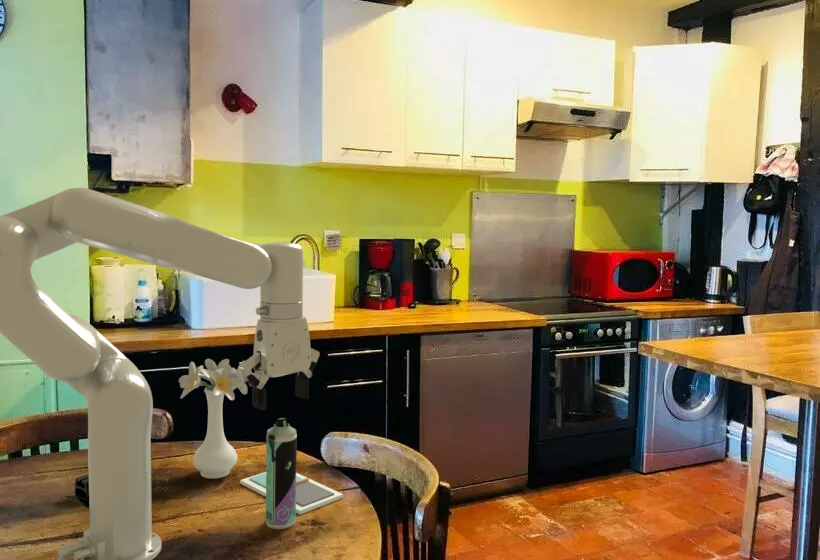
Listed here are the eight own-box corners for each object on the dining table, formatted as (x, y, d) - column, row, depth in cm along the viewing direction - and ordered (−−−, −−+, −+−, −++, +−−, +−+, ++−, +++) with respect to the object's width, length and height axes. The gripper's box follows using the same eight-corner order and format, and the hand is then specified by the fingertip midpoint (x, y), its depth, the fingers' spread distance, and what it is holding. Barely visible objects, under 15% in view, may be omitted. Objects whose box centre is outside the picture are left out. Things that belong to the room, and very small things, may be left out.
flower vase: (260, 460, 158) (261, 353, 156) (221, 492, 140) (222, 372, 138) (209, 454, 161) (209, 349, 158) (164, 484, 143) (163, 367, 141)
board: (299, 514, 132) (300, 507, 132) (240, 483, 145) (240, 476, 145) (343, 498, 140) (343, 490, 140) (282, 469, 153) (282, 463, 153)
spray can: (289, 530, 125) (290, 424, 123) (260, 527, 126) (261, 421, 124) (299, 517, 131) (301, 415, 128) (272, 514, 132) (273, 412, 129)
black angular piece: (53, 497, 137) (52, 475, 136) (87, 486, 143) (87, 464, 142) (89, 515, 130) (89, 492, 130) (124, 501, 136) (123, 479, 136)
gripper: (254, 319, 116) (254, 418, 118) (331, 308, 129) (330, 398, 130) (228, 313, 121) (229, 408, 123) (305, 304, 133) (304, 390, 135)
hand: (281, 403), depth 127 cm, fingers open, 9 cm apart
